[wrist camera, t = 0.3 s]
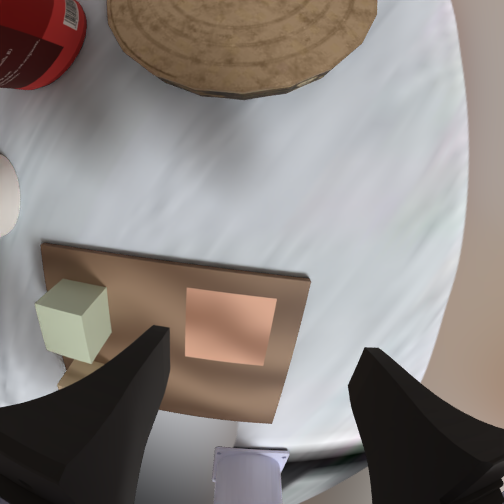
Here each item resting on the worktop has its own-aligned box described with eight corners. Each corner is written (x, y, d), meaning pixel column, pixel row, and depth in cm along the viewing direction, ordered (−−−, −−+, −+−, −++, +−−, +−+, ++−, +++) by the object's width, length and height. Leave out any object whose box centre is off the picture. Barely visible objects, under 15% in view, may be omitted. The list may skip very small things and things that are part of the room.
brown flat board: (271, 419, 25) (271, 423, 24) (73, 383, 24) (71, 386, 24) (309, 278, 20) (310, 281, 19) (43, 242, 19) (40, 244, 18)
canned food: (51, -8, 12) (-35, -49, 1) (111, 15, 13) (15, -51, 3) (1, 71, 14) (-97, 66, 4) (51, 107, 16) (-71, 106, 5)
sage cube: (111, 332, 21) (91, 364, 17) (70, 322, 21) (46, 350, 17) (106, 287, 20) (81, 316, 16) (62, 278, 19) (34, 303, 16)
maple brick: (126, 400, 24) (113, 431, 20) (86, 388, 24) (70, 417, 20) (119, 367, 22) (103, 400, 19) (76, 356, 22) (57, 384, 18)
